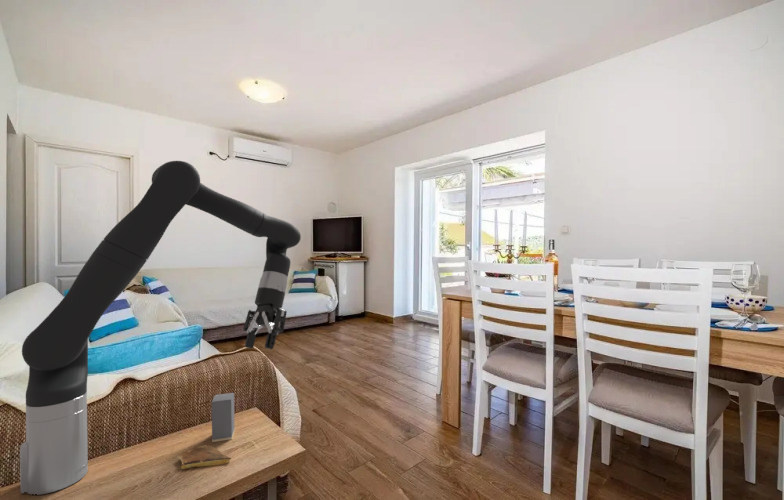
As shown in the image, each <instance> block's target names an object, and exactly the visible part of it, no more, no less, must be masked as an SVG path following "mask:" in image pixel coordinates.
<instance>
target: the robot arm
mask: <svg viewBox="0 0 784 500" xmlns="http://www.w3.org/2000/svg"><path fill="white" fill-rule="evenodd" d="M186 205H187V206H189V207H192V208H195V209H197V210H199V211H203V212H205V213H208V214H210V215H211V216H214V217H215V218H218V219H220V220H221V221H224V222H225V223H227V224H229V225H231V226H233V227H234V228H237V229H239V230H241V231H243V232H245V233H247V234H249V235H251V236H254V237H257V238H267V239H266V241H265V242H266V244H265V247H266V248H265V258H266V259H265V263H264V267H263V271H262V275H261V277H260V279H259V284H258V288H257V291H256V296H255V298H254V299H255V300H254V305H256V306H257V307H256V309H255V310H252V309H249V310H248V312H247V315H246V318H245V321H244V322H245V323H244V326H243V328H242V329H243V331H244V332H246V335H247V336H246V339H245V343H244V348H247V349H253V348H254V345H255V343H256V342H255V341H256V337H257V333H258V332H259V330H261V329H263V328H264V327H266V328H267V332H268V333H267V335H266V340H265V344H264V349H268V350H273V349H274V346H275V344H276V340H277V339H276V338H277V335H279V333H284V330H285V324H286V317H287V311H288V310H286V309H283V305H284V300H285V295H286V291H287V285H288V278H289V273H290V272H289V271H290V269H291V259H290V258H289V257H288V256H287V251H288V249H291V248H294V247H295V246H297V245H298V244H299V243H300V242H301V238H302V237H301V232H300V230H299V229H298V228H297V226H295V225H294V224H292V223H290V222H289V221H286V220H282V219H281V218H280V219H279V218H277V217H274V216H269V215H267V214H265V213H264V212H262V211H261V210H258V209H256V208H255V207H253V206H251V205H249V204H246V203H245V202H242V201H240V200H237V199H234V198H232V197H230V196H227V195H224V194H223V193H219V192H218V191H215V190H213V189H212V188H210V187H208V186H206V184H204V183H201V177H200V174H199V171H198V169H196V168H195V166H194V165H192V164H191V163H189V162H186V161H182V160H171V161H167V162H165V163H163V164H161V165H160V166H159V167H157V168H156V169H155V170H154V171H153V173H152V175H151V185H150V186H149V187H148V189H147V191H146V192H145V194H144V196H143V197H142V198H141V200H140V201H139V202H138V203H137V205H136V206H135V207H134V208H133V209H132V210H131V211H129V212H128V213H127V214H126V215H125V216H124V217H123V218H121V220H120V221H118V222H117V224H115V226H114V227H113V228H111V230H110V231H109V232H108V233H107V234H106V235H105V236H104V238H103V239H102V240H101V241H100V243H99V244H98V246H97V247H96V248H95V250H94V251H93V252H92V253H91V255H90V256H89V258H88V260H86V262H85V264H84V265H83V266H82V268H81V270H80V271H79V273H78V274H77V275H76V278H75V279H74V282H73V283H72V284H71V287H70V288H69V290H68V291H67V293H66V294H65V296H64V297H63V299H62V300H61V301H59V303H58V304H57V305H56V307H55V308H54V309H53V310H52V311H51V312H50V313H49V314H48V315H47V316H46V318H44V319H43V320H42V321H41V323H40V324H39V325H37V327H36V328H35V329H34V330H32V331H31V332H30V333H29V334H28V335H27V336H26V338H25V339H24V340H23V342H22V348H21V355H22V358H23V361H24V362H25V363H26V365H27V366H28V367H29V368H28V369H29V370H28V371H29V372H28V382H27V386H26V391H25V441H24V442H23V443H21V445H20V446H19V450H20V451H19V453H20V454H19V456H20V457H19V463H20V464H19V465H20V466H19V467H20V468H19V469H20V480H19V481H20V494H21V493H22V494H25V493H24V492H27V493H26V494H29V495H32V494H34V495H33V496H37V495H38V496H39V495H45V494H50V493H54V492H57V491H60V490H62V489H65V488H67V487H70V486H72V485H74V484H75V483H77V482H78V481H80V480H82V479H83V478H84V477H85V476H86V474H87V473H88V471H89V470H88V466H89V460H88V451H89V450H88V398H87V397H88V394H87V393H88V391H87V390H88V389H87V388H88V386H87V385H88V376H89V375H88V374H89V362H88V361H89V359H88V358H89V337H90V336H91V334H92V332H93V330H94V329H95V327H96V325H97V324H98V323H99V321H100V319H101V317H102V316H103V314H104V313H105V312H106V310H107V309H108V308H109V307H110V306H111V305H112V303H114V301H115V300H116V299H117V298H118V297H119V296H120V295H121V294H122V293H123V292H124V290H125V289H127V287H128V286H129V285H130V284H131V282H132V281H133V280H134V278H135V277H136V276H137V275H138V274H139V273H140V271H141V270H142V268H143V266H144V265H145V264H146V263H147V262H148V260H149V258H150V257H151V255H152V253H153V252H154V250H155V249H156V247H157V245H159V242H160V241H161V240H162V237H164V234H165V232H166V231H167V228H168V227H169V225H170V224H171V222H172V221H173V219H174V218H176V216H177V215H178V214H179V213H180V212H181V210H183V208H184V207H185V206H186ZM35 494H37V495H35Z"/></svg>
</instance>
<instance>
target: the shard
mask: <svg viewBox="0 0 784 500" xmlns="http://www.w3.org/2000/svg"><path fill="white" fill-rule="evenodd" d="M177 459H179V460H180V462H181V465H180V469H181V470H186V469H192V468H197V467H198V468H199V467H210V466H218V465H223V464H229V463H230V461H231V460H232V457H229V456H228V455H226V454H224V453H223V452H221V451H220V450H219V449H217V448H215V447H214V446H210V445H209V444H205V445H199V446H196V447H194V448H192V449H189V450H187V451H185V452H183V453H180V454H179V455H177Z"/></svg>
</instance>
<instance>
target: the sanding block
mask: <svg viewBox="0 0 784 500" xmlns="http://www.w3.org/2000/svg"><path fill="white" fill-rule="evenodd" d="M235 431H236V429H235V392H228V393H221V394H215V395H214V396H213V399H212V400H211V443H216V442H221V441H229V440H233V437H234V434H235Z"/></svg>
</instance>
